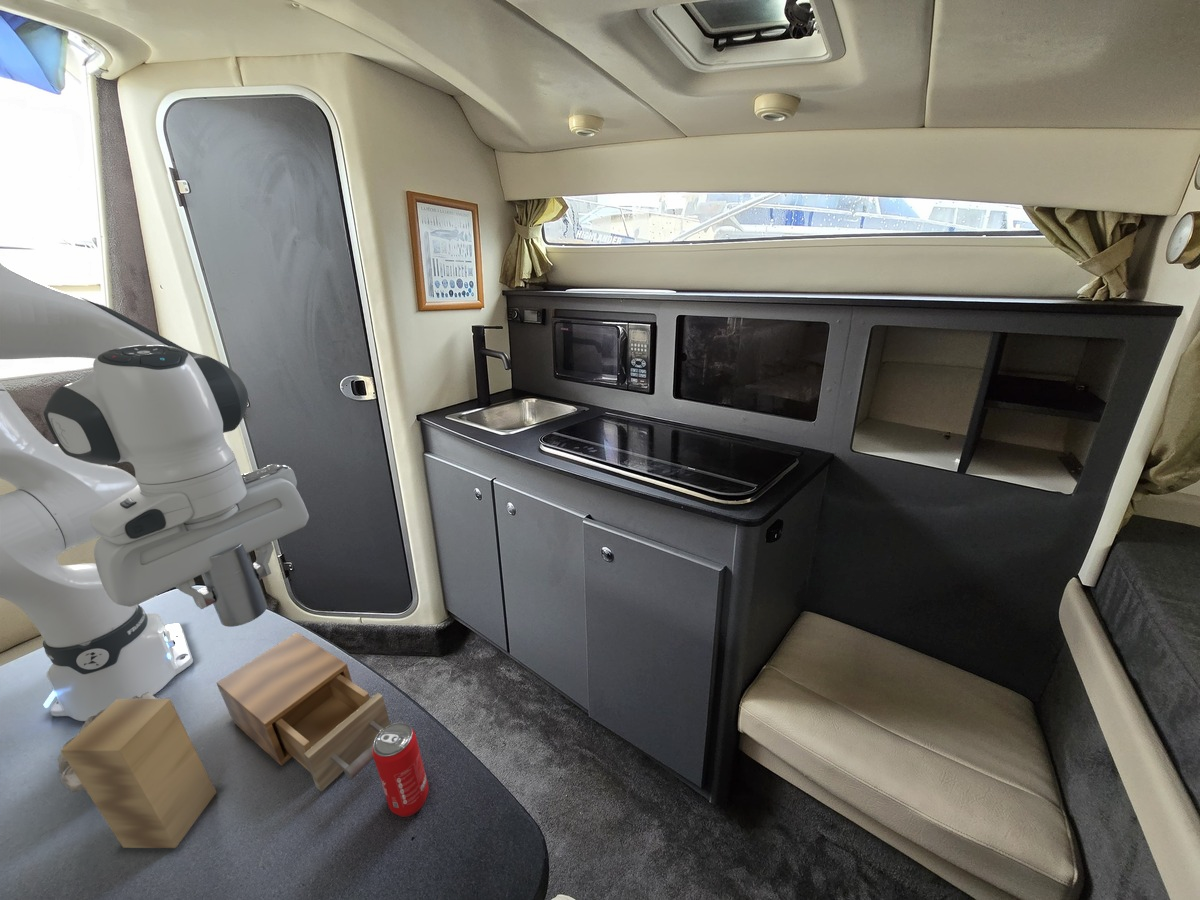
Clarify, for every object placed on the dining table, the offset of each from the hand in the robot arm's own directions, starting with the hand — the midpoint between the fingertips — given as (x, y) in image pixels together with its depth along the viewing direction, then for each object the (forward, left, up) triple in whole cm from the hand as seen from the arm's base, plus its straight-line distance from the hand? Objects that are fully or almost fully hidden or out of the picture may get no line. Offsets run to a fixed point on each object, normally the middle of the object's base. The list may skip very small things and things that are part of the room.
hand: (235, 589), depth 61 cm
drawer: (+1, +5, -30) cm, 31 cm away
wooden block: (-1, -15, -31) cm, 35 cm away
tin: (0, 0, -4) cm, 4 cm away
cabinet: (-10, 0, -31) cm, 33 cm away
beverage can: (+15, +12, -31) cm, 37 cm away
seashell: (-15, -21, -31) cm, 41 cm away
